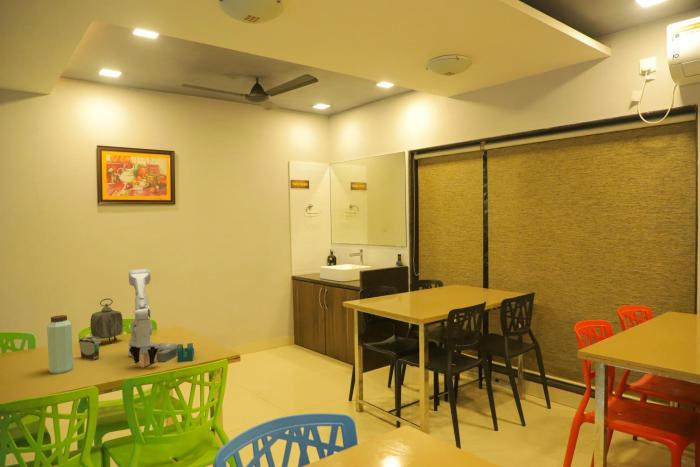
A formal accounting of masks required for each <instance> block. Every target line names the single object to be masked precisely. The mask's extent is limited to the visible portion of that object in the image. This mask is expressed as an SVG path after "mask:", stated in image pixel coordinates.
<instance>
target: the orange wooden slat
mask: <svg viewBox="0 0 700 467" xmlns="http://www.w3.org/2000/svg"><path fill="white" fill-rule="evenodd" d="M139 361H140V368H145V367H148V366H149V365H151V364H150V362H149V354H148V351H146V352H144V353H142V354H140V357H139ZM155 362H157V353H156V355H155V359H154V363H155Z"/></svg>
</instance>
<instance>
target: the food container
mask: <svg viewBox="0 0 700 467" xmlns="http://www.w3.org/2000/svg"><path fill="white" fill-rule="evenodd" d="M101 342H102V341H101V339H100V338H99V337H93V336H84V337H81V338H78V343H79V352H80V359H82V360H88V361H96V360H98V359H99V356H100V343H101Z"/></svg>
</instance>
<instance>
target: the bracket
mask: <svg viewBox="0 0 700 467" xmlns="http://www.w3.org/2000/svg"><path fill="white" fill-rule="evenodd" d="M193 345H194V343H192V342H191V343H189V342H188V343H187V344H186V347H184V344H183V343H180V344H177V356H176V358H177V359H176V360H177V361H176V362H177V363H185V362H187V363H188V362H193V360H194V356H195V348H194V346H193Z"/></svg>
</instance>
